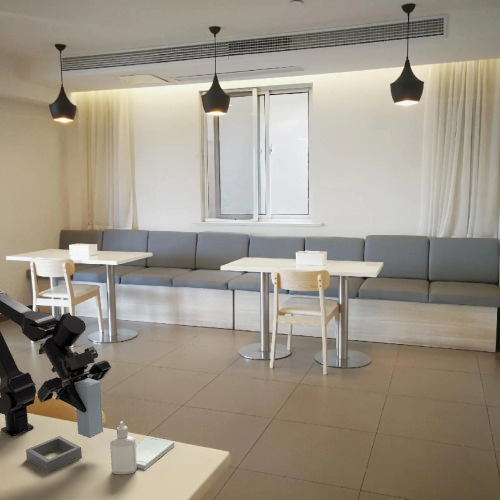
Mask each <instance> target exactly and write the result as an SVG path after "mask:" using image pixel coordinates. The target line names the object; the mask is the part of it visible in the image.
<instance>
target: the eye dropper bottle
mask: <svg viewBox="0 0 500 500" xmlns="http://www.w3.org/2000/svg"><path fill="white" fill-rule="evenodd" d="M124 423H125V422H124V421H123V420H122V421H120V422H119V426H118V427H116V436H115V437H113V438H112V439H111V441H110V446H109V447H110V449H109V450H110V461H111V463H110V464H111V473H113V474H115V475H130V474H134V473H135V472H136V471H137V469H138V468H137V459H136V446H137V445H136V439H135V437H133V436H131V435H129V432H128V426H127V425H125V424H124Z"/></svg>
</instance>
